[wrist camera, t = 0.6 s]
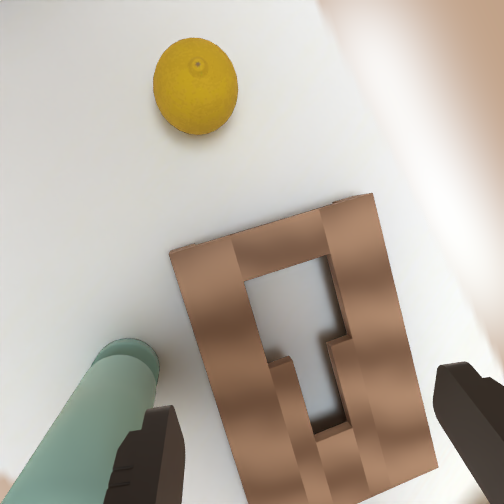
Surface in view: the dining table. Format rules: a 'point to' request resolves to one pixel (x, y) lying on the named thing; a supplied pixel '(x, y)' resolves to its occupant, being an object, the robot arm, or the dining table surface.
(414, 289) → the dining table surface
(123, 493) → the robot arm
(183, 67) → the lemon
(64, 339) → the dining table surface
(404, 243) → the dining table surface
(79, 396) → the headed peg
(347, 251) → the keyhole plate
